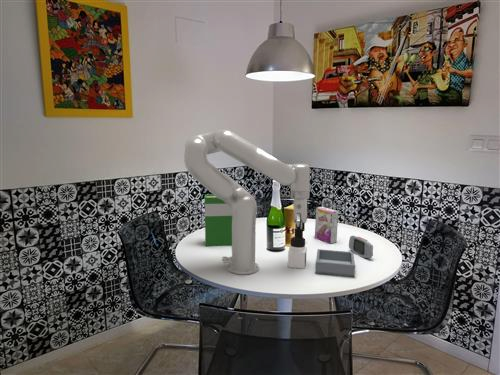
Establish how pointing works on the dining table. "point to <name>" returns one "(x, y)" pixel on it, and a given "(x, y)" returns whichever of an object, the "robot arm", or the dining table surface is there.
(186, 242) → the dining table surface
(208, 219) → the hardback book
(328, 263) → the walled bin
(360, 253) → the handheld gaming console
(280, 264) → the dining table surface
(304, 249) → the medicine bottle
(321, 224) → the candy bar box
